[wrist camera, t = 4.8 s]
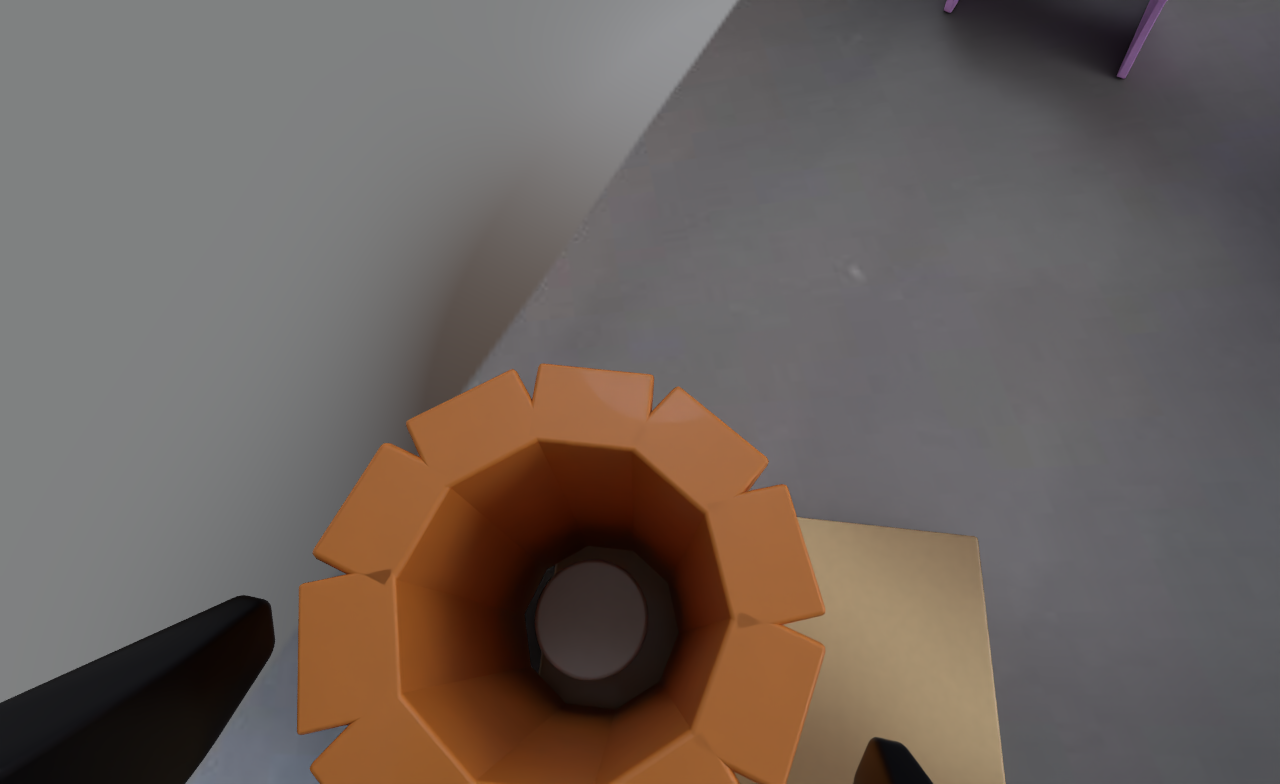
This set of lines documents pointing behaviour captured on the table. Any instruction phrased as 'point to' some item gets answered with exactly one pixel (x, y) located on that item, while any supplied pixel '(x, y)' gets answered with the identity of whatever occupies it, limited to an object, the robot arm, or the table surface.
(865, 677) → the ring board
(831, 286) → the table surface
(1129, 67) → the toy chair
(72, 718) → the robot arm
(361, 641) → the pen holder
